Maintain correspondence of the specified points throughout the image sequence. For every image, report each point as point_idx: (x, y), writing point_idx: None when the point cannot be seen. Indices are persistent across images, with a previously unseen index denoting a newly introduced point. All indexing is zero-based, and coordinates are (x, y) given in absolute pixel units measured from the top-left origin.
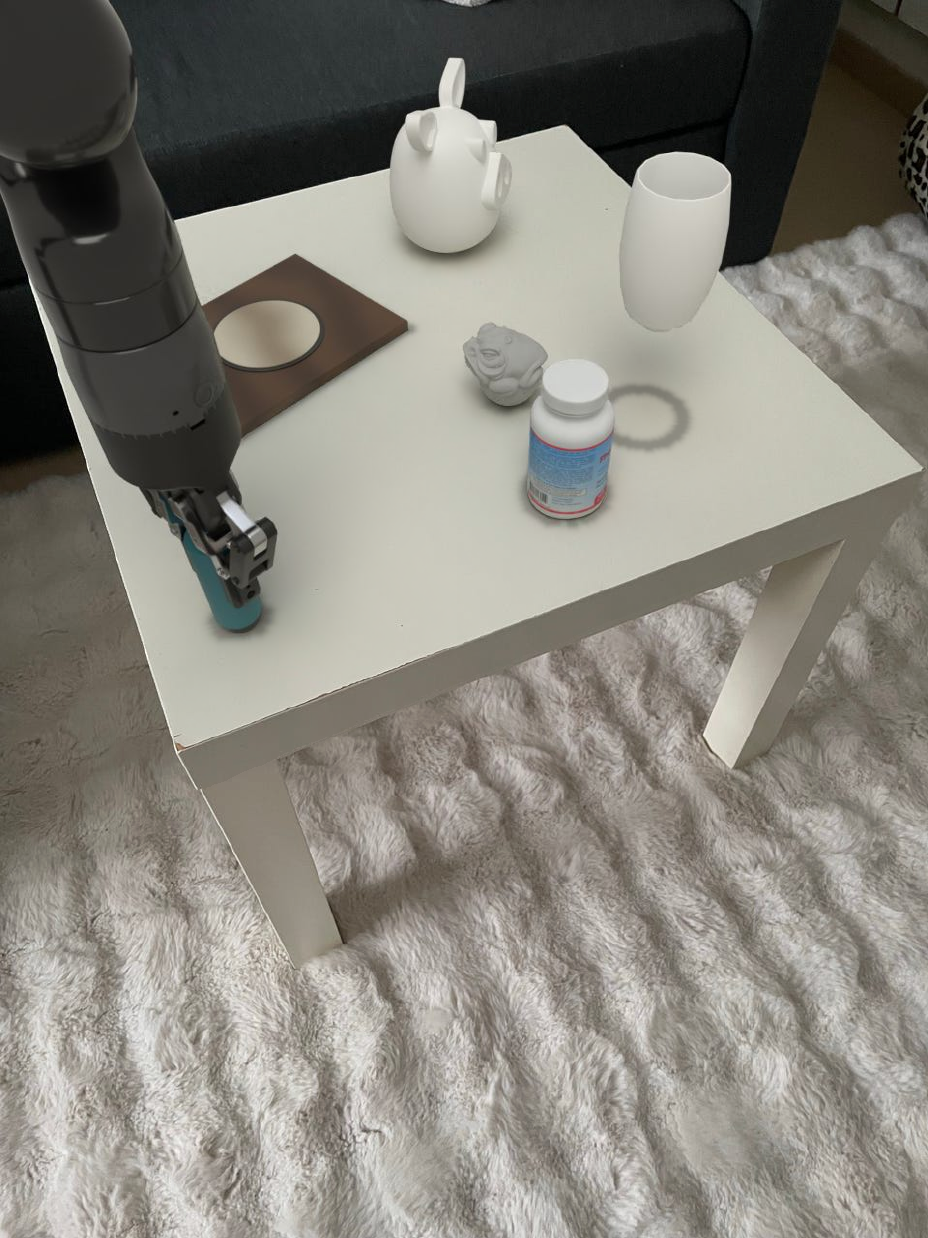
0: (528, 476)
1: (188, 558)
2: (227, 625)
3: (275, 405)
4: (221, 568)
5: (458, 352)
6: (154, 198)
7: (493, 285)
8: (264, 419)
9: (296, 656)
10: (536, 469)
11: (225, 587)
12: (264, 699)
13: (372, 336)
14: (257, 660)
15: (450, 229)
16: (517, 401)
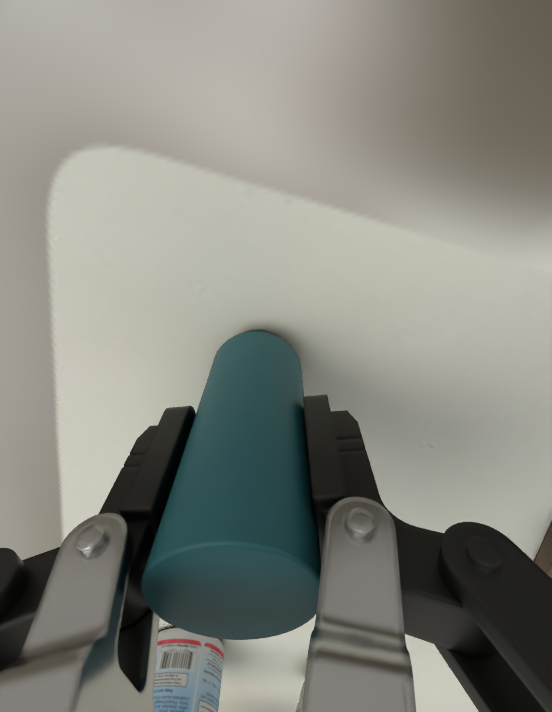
0: (196, 669)
1: (329, 428)
2: (227, 344)
3: (547, 571)
4: (59, 575)
5: (417, 670)
6: None
7: (455, 709)
8: (545, 546)
9: (138, 380)
10: (169, 706)
11: (152, 459)
12: (81, 302)
13: None
14: (164, 333)
15: None
16: (303, 686)
